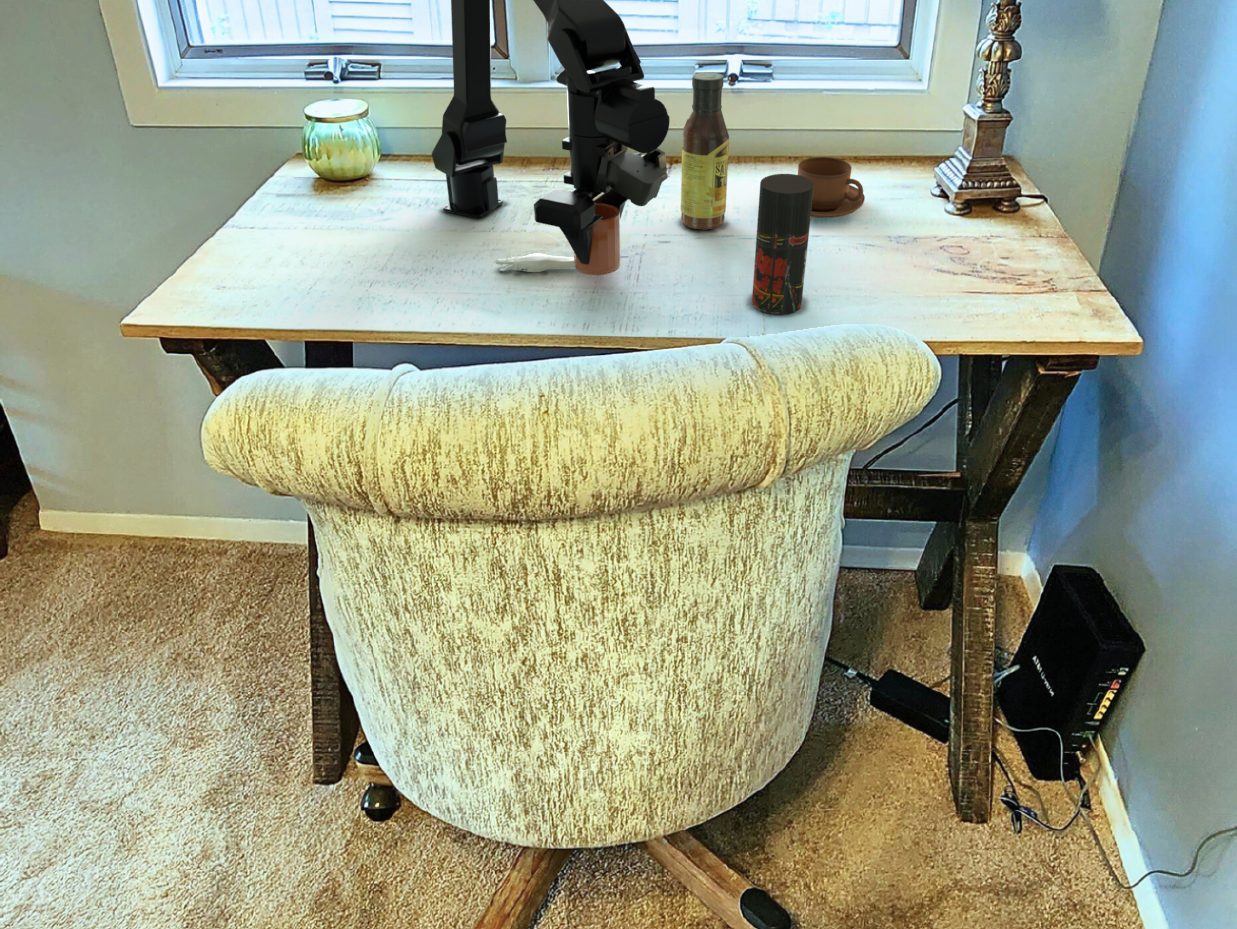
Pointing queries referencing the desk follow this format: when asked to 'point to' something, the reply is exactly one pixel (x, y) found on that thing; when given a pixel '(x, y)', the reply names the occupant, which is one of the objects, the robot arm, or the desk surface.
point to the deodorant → (781, 243)
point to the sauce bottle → (705, 156)
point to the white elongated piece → (536, 262)
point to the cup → (603, 243)
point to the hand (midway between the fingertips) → (596, 254)
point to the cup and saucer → (831, 187)
